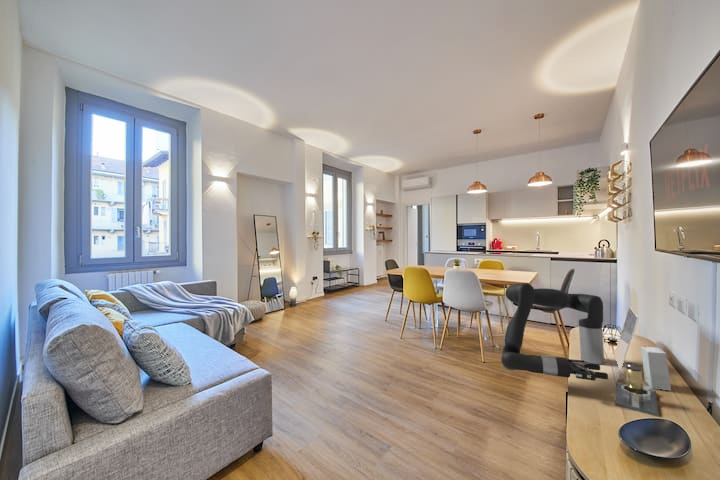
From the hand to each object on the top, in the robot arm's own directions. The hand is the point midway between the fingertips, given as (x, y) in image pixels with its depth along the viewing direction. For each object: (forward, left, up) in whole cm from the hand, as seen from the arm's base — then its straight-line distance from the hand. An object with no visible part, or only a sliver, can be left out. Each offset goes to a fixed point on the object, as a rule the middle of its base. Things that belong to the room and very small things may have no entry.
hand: (603, 371), depth 112 cm
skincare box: (-22, +15, -9) cm, 28 cm away
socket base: (-3, +9, -9) cm, 13 cm away
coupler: (-3, +9, -8) cm, 12 cm away
